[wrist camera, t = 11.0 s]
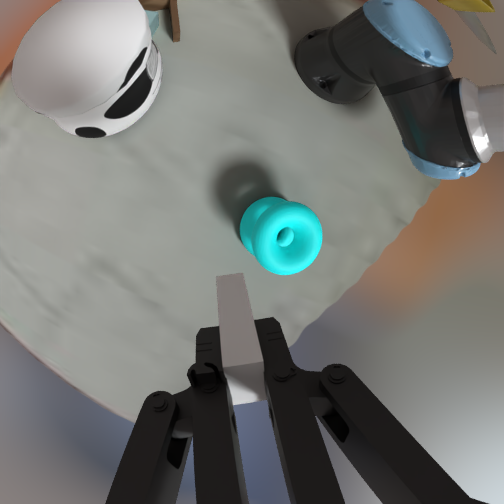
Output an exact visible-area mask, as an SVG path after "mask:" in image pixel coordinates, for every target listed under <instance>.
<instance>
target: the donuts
mask: <svg viewBox="0 0 504 504" xmlns="http://www.w3.org/2000/svg"><path fill="white" fill-rule="evenodd" d="M280 230H281V232H280V234H279V235H278V233H279V231H280ZM277 235H278V236H277ZM240 236H241V240H242V242H243V244H244V246H245V248H246V249H247V250H248V251H249V252H250V253H251V254H253V255H254V256H255V257H256V259H257V260H258V262H259V263H260V264H261V265H262V266H263V267H264V268H265V269H267V270H268V271H270V272H272V273H275V274H279V275H290V274H294V273H297V272H300V271H302V270H303V269H305V268H306V267H308V266H309V265H310V264H311V263H312V262H313V261H314V259H315V258H316V256H317V255H318V253H319V250H320V248H321V244H322V228H321V224H320V222H319V219H318V218H317V216H316V215H315V213H314V212H313V211H312V210H311V209H310V208H308V207H307V206H305V205H303V204H301V203H298V202H292V201H286V200H284V199H282V198H278V197H265V198H262V199H259V200H257V201H255V202H254V203H253V204H251V205H250V206H249V207H248V208H247V210H246V211H245V213H244V214H243V217H242V219H241V223H240Z"/></svg>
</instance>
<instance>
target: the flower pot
mask: <svg viewBox="0 0 504 504" xmlns="http://www.w3.org/2000/svg"><path fill="white" fill-rule="evenodd" d="M438 1H439V2H440V3H442V4H444V5H446V6H449V7H450V8H452V9H454V10H459V11H471V12H495V10H494V8H493V6H492V4H491V2H490V0H438Z"/></svg>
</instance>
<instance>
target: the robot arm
mask: <svg viewBox="0 0 504 504" xmlns="http://www.w3.org/2000/svg"><path fill="white" fill-rule="evenodd" d="M450 46H451V42H450V40H449V38H448V36H447V34H446V32H445V30H444V29H443V27H442V26H441V25H440V23H439V22H438V21H437V20H436V18H435V17H434V16H433V15H432V14H431V13H430V12H429V11H428V10H427V9H425V8H424V7H423V6H422V5H420V4H419V3H417V2H416V1H414V0H369V1H367V2H366V3H365V4H364V5H363V6H362V7H360V8H359V9H357V10H356V11H354V12H353V13H351V14H350V15H349V16H347V17H346V18H345V19H343V20H342V21H340V22H339V23H338V24H336V25H335V26H332V27H327V28H322V29H318V30H315V31H312V32H310V33H309V34H307V35H306V36H305V37H304V38H303V39H302V40H301V41H300V42H299V43H298V45H297V47H296V51H295V64H296V68H297V70H298V73H299V75H300V77H301V78H302V80H303V81H304V83H305V84H306V85H307V86H308V88H309V89H310V90H311V91H313V92H314V93H315V94H316V95H318V96H319V97H321V98H323V99H324V100H327V101H329V102H332V103H337V104H347V103H351V102H354V101H357V100H359V99H361V98H363V97H364V96H365V95H366V94H367V93H368V92H369V91H370V90H371V89H372V88H373V87H374V86H375V85H377V86H378V88H379V90H380V92H381V94H382V96H383V98H384V100H385V102H386V104H387V106H388V108H389V110H390V112H391V114H392V117H393V119H394V121H395V123H396V125H397V128H398V130H399V132H400V135H401V137H402V143H403V146H404V148H405V149H406V151H407V152H408V154H409V156H410V159H411V161H412V163H413V165H414V166H415V167H416V168H417V169H418V170H419V171H420V172H421V173H423V174H425V175H427V176H430V177H433V178H438V179H458V178H460V176H464V177H467V176H470V175H472V174H473V173H475V172H476V171H477V170H478V168H479V167H480V163H486V162H488V161H489V159H490V158H491V156H492V155H493V153H494V152H495V151H504V84H500V85H490V86H481V87H480V86H478V85H476V84H474V83H473V82H472V81H470V80H469V79H468V78H465V77H464V78H463V77H462V78H457V79H453V77H452V75H451V73H450V71H449V68H448V66H447V65H448V64H449V63H450V62H451V61H452V58H453V50H452V48H451V47H450ZM216 282H217V299H218V314H219V326H216V327H208V328H201V329H200V330H199V332H198V334H197V336H196V363H195V364H193V365H192V366H191V367H190V368H189V369H188V373H187V376H188V379H189V381H190V383H191V386H190V387H189V388H188V389H186V390H184V391H182V392H179V393H176V394H174V395H171V394H170V393H168V392H166V391H157V392H154V393H152V394H150V395H149V396H147V398H146V399H145V401H144V403H143V406H142V408H141V410H140V413H139V415H138V418H137V420H136V423H135V425H134V428H133V430H132V433H131V436H130V438H129V441H128V443H127V446H126V448H125V451H124V454H123V456H122V459H121V461H120V464H119V467H118V470H117V472H116V475H115V478H114V481H113V483H112V486H111V489H110V492H109V495H108V497H107V500H106V503H105V504H175V503H176V500H177V496H178V492H179V488H180V484H181V479H182V476H183V472H184V468H185V464H186V460H187V456H188V452H189V448H190V444H191V441H192V437H193V452H194V472H195V487H196V501H197V504H249V501H248V496H247V490H246V484H245V478H244V472H243V465H242V459H241V453H240V446H239V439H238V432H237V425H236V418H235V413H234V410H233V405H236V404H243V403H249V402H256V401H262V400H267V401H268V406H269V417H270V418H271V422H272V427H273V431H274V435H275V440H276V444H277V448H278V452H279V457H280V461H281V465H282V469H283V473H284V478H285V482H286V486H287V490H288V494H289V498H290V502H291V504H345V502H344V499H343V496H342V493H341V490H340V487H339V484H338V481H337V478H336V476H335V472H334V469H333V467H332V464H331V461H330V458H329V455H328V452H327V449H326V446H325V444H324V440H323V438H322V435H321V432H320V429H319V426H318V423H317V420H316V417H315V416H317V417H318V419H319V420H320V422H321V423H322V424H323V426H324V427H325V428H326V430H327V431H328V433H329V434H330V435H331V436H332V438H333V439H334V441H335V442H336V443H337V445H338V446H339V448H340V449H341V450H342V451H343V453H344V454H345V456H346V457H347V458H348V460H349V461H350V462H351V464H352V465H353V466H354V467H355V469H356V470H357V471H358V473H359V474H360V475H361V477H362V478H363V479H364V481H365V482H366V483H367V484H368V486H369V487H370V488H371V489H372V491H374V493H375V494H376V496H377V497H378V498H379V499H380V501H381V502H382V503H383V504H488V503H485V502H481V501H478V500H475V499H472V498H470V497H469V496H468V495H467V494H466V493H465V492H464V491H463V490H462V489H461V488H460V487H459V486H458V485H457V483H456V482H455V481H454V480H452V478H451V477H450V476H449V475H448V474H447V473H446V472H445V471H444V470H443V468H442V467H441V466H440V465H439V464H438V463H437V462H436V461H435V460H434V459H433V458H432V457H431V456H430V455H429V454H428V452H427V451H426V450H425V449H424V448H423V447H422V446H421V445H420V444H419V443H418V442H417V441H416V440H415V438H414V437H413V436H412V435H411V434H410V433H409V432H408V431H407V430H406V429H405V428H404V427H403V426H402V424H401V423H400V422H399V421H398V420H397V419H396V418H395V417H394V416H393V415H392V414H391V413H390V411H389V410H388V409H387V408H386V407H385V406H384V405H383V404H382V403H381V402H380V401H379V400H378V398H377V397H376V396H375V395H374V394H373V393H372V392H371V391H370V390H369V389H368V388H367V386H366V385H365V384H364V383H363V382H362V381H361V380H360V379H359V378H358V377H357V376H356V375H355V373H354V372H353V371H352V370H351V369H350V368H348V367H347V366H345V365H342V364H331V365H328V366H327V367H325V368H324V369H323V370H322V372H314V371H305V370H302V369H300V368H299V367H297V366H296V365H295V364H294V363H293V360H292V358H291V355H290V352H289V349H288V346H287V343H286V340H285V338H284V334H283V332H282V329H281V326H280V323H279V322H278V321H277V320H276V319H275V318H274V317H270V318H265V319H259V320H254V319H253V315H252V310H251V306H250V302H249V297H248V293H247V289H246V284H245V280H244V275H243V273H237V274H230V275H223V276H216Z"/></svg>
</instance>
